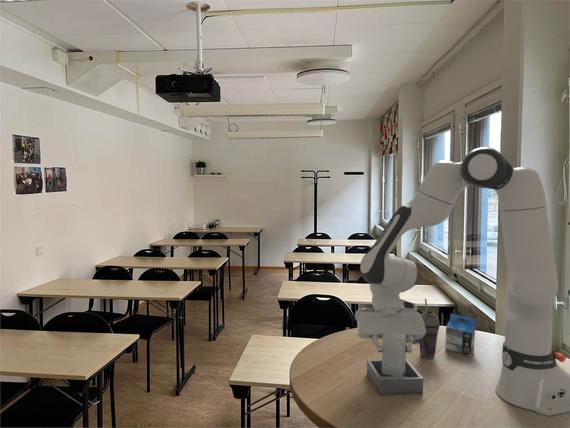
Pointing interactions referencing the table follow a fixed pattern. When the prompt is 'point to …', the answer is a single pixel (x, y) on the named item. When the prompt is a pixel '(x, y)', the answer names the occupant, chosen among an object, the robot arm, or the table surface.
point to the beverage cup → (429, 334)
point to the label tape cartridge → (460, 335)
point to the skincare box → (394, 354)
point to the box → (394, 380)
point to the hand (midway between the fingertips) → (394, 351)
